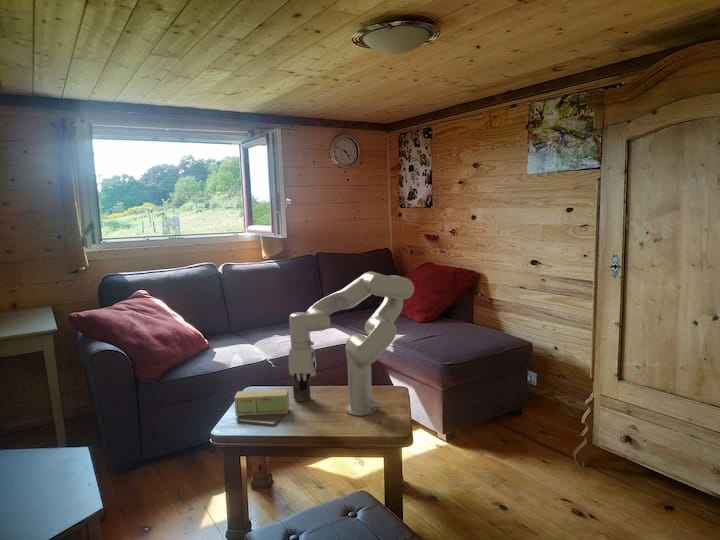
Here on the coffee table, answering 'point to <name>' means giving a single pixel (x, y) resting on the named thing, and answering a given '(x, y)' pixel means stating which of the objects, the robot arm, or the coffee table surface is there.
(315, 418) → the coffee table surface
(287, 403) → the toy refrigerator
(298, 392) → the brown rounded cylinder
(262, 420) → the mat
